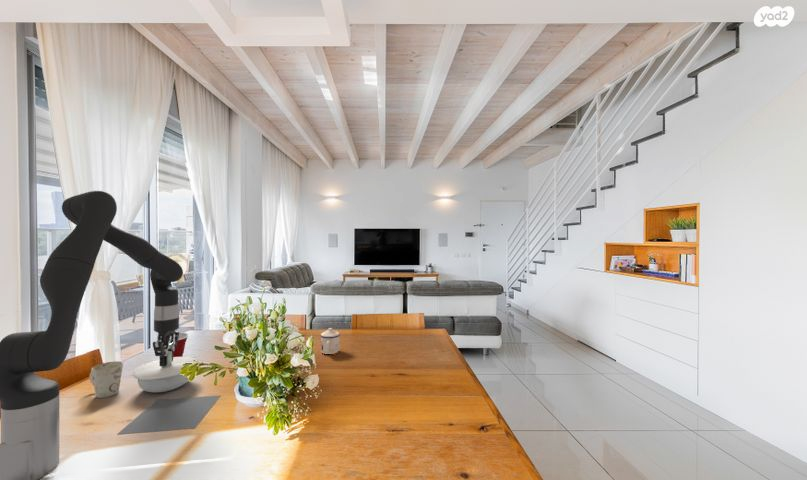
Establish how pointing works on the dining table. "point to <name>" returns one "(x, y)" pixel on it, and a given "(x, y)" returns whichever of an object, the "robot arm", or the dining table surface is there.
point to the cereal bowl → (162, 384)
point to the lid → (161, 368)
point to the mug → (106, 378)
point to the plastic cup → (180, 345)
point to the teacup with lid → (330, 341)
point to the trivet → (171, 415)
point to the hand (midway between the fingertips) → (166, 363)
